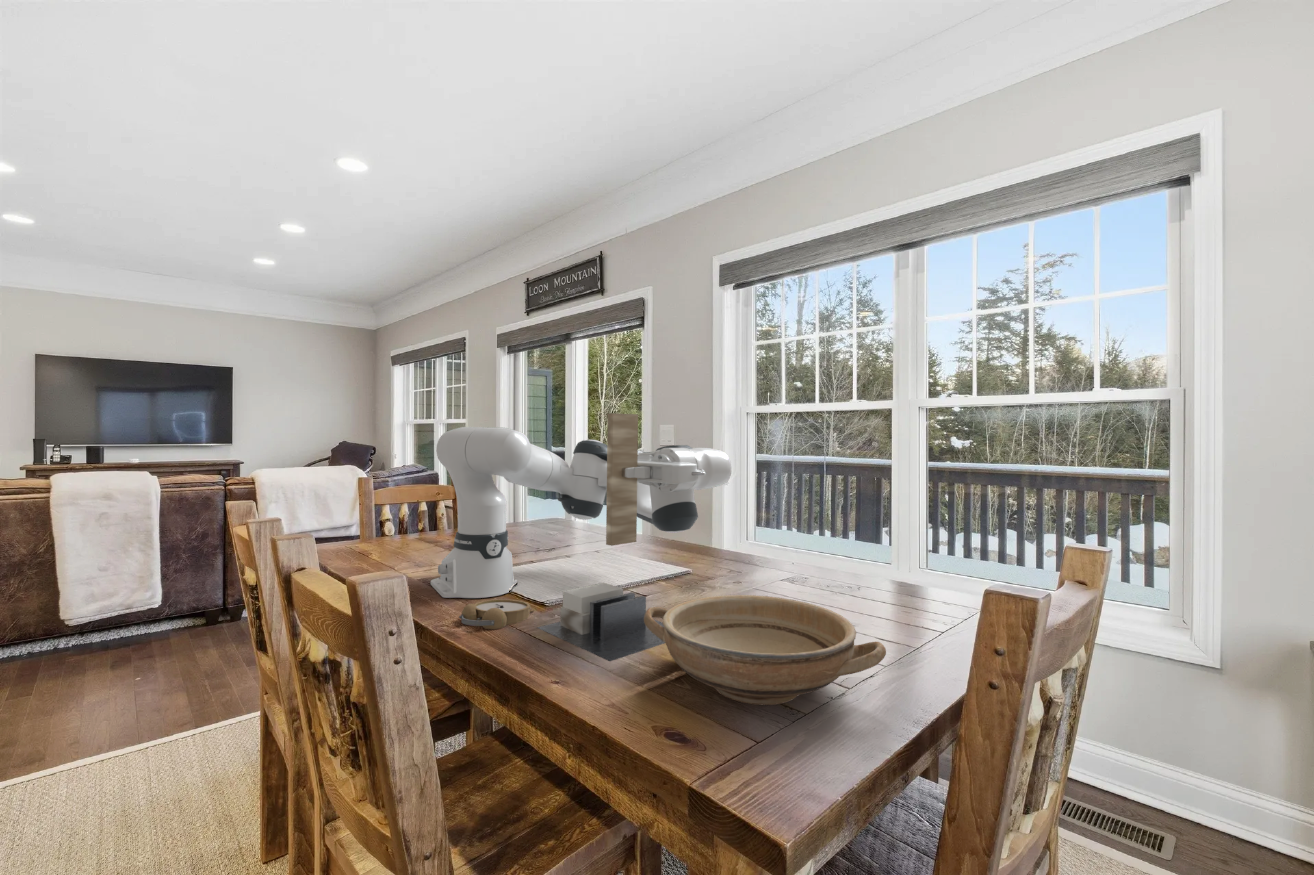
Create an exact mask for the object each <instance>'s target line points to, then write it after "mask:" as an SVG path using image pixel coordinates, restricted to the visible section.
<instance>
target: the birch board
mask: <svg viewBox="0 0 1314 875" xmlns="http://www.w3.org/2000/svg"><path fill="white" fill-rule="evenodd" d="M606 433H607V435H606V436H607V440H606V442H607V444H606V445H607V492H606V515H605V516H606V525H605V528H606V529H605V530H606V531H605V545H607V546H611V547H612V546H618V545H625V544H632V543H637V530H638V528H637V527H638V526H637V525H638V524H637V520H638V519H637V518H638V517H637V478H625V477H622V468H633V467H637V461H638V454H639V452H638V451H639V450H638V448H639V414H638V413H637V414H636V413H619V412H617V413H615V412H614V413H613V412H610V413H609V412H608V413H607V432H606Z"/></svg>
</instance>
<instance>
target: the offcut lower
mask: <svg viewBox="0 0 1314 875" xmlns="http://www.w3.org/2000/svg"><path fill="white" fill-rule="evenodd" d="M560 622H561V626H563V627H565V628H567V629H570V630H572V631H574V632H577V633H579V634H581V635H584V634H587V633H590V612H588V613H584V614H580V613H578V612H575V611H572V610H570V609H567V608H565V607H563V606H561V607H560Z"/></svg>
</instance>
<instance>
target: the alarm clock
mask: <svg viewBox="0 0 1314 875" xmlns="http://www.w3.org/2000/svg"><path fill="white" fill-rule="evenodd" d="M534 611H535V610H534V609H532V608H531V605H530V603H529V602H526V601H523V600H517V599H507V598H506V599H488V600H487V599H486V600H482V601H481V600H480V601H478V602H476V603H468V604H467V605H465V606H464V607H463V609H462V610H461V614H460V615H459V616H458V617H459V619H461V624H463V625H466V626H471V627H472V626H473V627H482V628H484V629H485V630H499V629H503V628H505V627H506V626H509V625H514V624H518V623H521V622H524V621H525V620H528V618H529V617H530V615H531V614H530V613H533V612H534Z"/></svg>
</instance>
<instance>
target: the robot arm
mask: <svg viewBox="0 0 1314 875" xmlns="http://www.w3.org/2000/svg"><path fill="white" fill-rule="evenodd" d="M435 448H436V456H437V459H438V460H439V463H440V464H441V465H442V466H443V467H444V468H445V469H446V470H447V472H448V474H449V476H450V478H451V481H452V485H453V488H454V491H455V495H456V496H455V497H456V503H457V531H456V532H454V535H455V536H454V541H453V548H452V550H451V551H450V552H449V553H448V554H447V555H446V556H445V557H444V558H443V559H442V561H441V564H439V565H438V566H437V572H438V575H440V576H439V577H436V578H434V579H431V580H430V586H432V588H433V589H434V590H435V591H436V592H437V593H438V594H439V595H440V596H441V597H442V598H445V599H446V598H449V599H451V598H462V599H481V598H482V599H483V598H484V599H485V598H490V597H497V596H502V595H504V594H508V593H510V592H509V588H511V586H512V585H513V584H515V583H516V582H518V579H514V567H513V566H514V565H513V555H512V552H511V551H510V550H509V549H508V547H507V546H508V545H509V531H508V529H507V499H506V496H505V495H504V494H503V492H501V491H500V490H499V489H498V487H497V486H496V483H495V481H494V478H493V476H500V477H502V478H504V479H505V480H506V481H507V482H508V483H512V484H515V485H519V486H522V487H525V488H527V489H532V490H536V491H537V490H538V491H542V492H553V493H555V492H556V493H559V494H560V496H561V497H557V501H558V502H561V503H560V504H561V506H562V508H563V510H564V511H565V512H566V513H567V514H568V515H570V516H571V517H573V518H576V519H578V520H583V521H587V520H592V519H596V518H599V516H600V514H601V513H602V510H603V508H604V505H603V504H604V501H605V499H606V498H605V497H606V495H607V444H606V443H603V442H602V441H599V440H597V439H586V440H585V439H583V440H581V441H579V442H577V444H575V448H574V450H573V452H572V454H573V457H572V459H571V462H570V466H569V464H568V462H566V461H565V459H564V458H562V457H560V456H559V455H557V454H556V453H554V452H552V451H550V450H549V449H546V448H543V447H540V446H538V445H535V444H533V443H531V442H530V440H529V438H528V437H527V435H526V434H525V433H523V432H522V431H519V430H515V429H511V428H507V427H498V426H497V427H489V426H488V427H484V426H461V427H458V428H457V427H456V428H454V429H451V430H448V431H445V432H444V433H442V435H440V437H439V438H438V440H437V444H436V447H435ZM731 463H732V462H731V459H730V456H729V455H728V454H727V453H726V452H725V451H723V450H720V449H716V448H710V447H692V446H690V445H688V444H685V445H683V444H681V445H679V444H678V445H676V444H675V445H666V446H662V447H659V448H656V449H655V450H654V451H648V452H647V451H646V452H645V451H644V452H638V461H637V467H633V468H622V477H625V478H637V518H638V519H641V520H642V521H645V522H647V523H649V524H652V525H653V526H654V527H655V528H656V529H657V530H659V531H661V532H662V531H663V532H666V533H672V534H673V533H674V534H675V533H682V532H685V531H687V530H690V529H691V528H692V527H693V525H694V524H695V523H696V522H697V519H698V518H699V514H698V508H697V504H696V499H695V491H696V490H697V491H699V490H708V489H713V488H717V487H720V486H723V485H725V484H726V483H729V482H728V481H729V480H730V478H731V476H732V464H731Z"/></svg>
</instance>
